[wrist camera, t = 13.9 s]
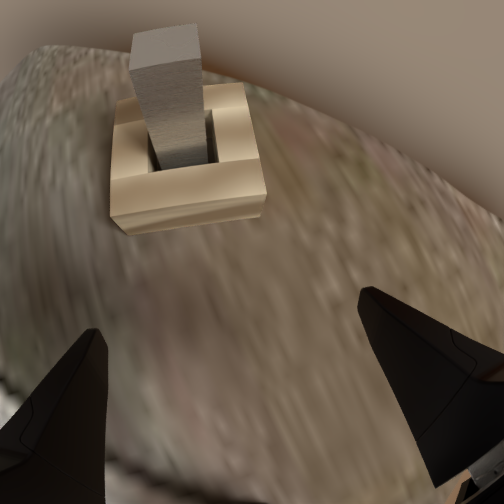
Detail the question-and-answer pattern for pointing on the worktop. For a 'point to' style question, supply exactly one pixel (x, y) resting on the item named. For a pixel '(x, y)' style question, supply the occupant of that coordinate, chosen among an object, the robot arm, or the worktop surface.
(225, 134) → the socket block
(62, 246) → the worktop surface
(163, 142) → the square bit
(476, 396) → the robot arm
